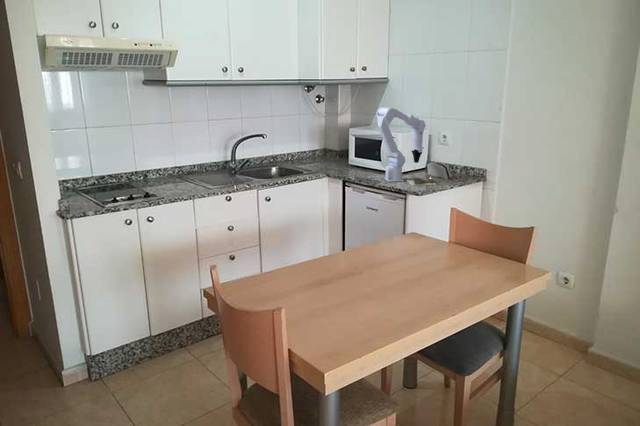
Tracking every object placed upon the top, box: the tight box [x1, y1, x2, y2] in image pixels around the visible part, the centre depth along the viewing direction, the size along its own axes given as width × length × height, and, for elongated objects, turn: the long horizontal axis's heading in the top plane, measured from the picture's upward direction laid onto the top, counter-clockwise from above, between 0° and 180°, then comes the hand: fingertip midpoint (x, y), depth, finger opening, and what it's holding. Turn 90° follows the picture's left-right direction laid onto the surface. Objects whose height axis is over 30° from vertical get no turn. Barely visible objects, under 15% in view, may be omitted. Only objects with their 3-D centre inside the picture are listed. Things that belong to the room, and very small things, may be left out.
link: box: [413, 178, 435, 183], centre depth 279 cm, size 12×4×2 cm, turn 94°
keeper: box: [412, 176, 422, 184], centre depth 278 cm, size 4×6×3 cm, turn 6°
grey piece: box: [426, 161, 453, 180], centre depth 300 cm, size 17×5×10 cm, turn 29°
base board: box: [406, 179, 437, 187], centre depth 282 cm, size 14×13×1 cm
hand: (416, 162), depth 293 cm, fingers closed
